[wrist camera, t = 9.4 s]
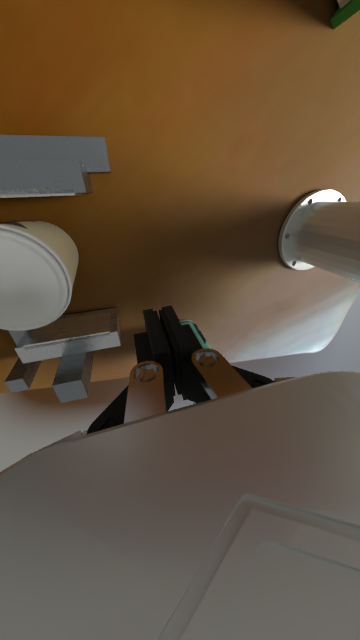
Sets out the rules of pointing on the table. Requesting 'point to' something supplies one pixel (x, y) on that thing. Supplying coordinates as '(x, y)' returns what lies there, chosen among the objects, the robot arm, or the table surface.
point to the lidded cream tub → (35, 274)
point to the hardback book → (344, 11)
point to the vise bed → (46, 190)
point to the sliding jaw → (72, 348)
